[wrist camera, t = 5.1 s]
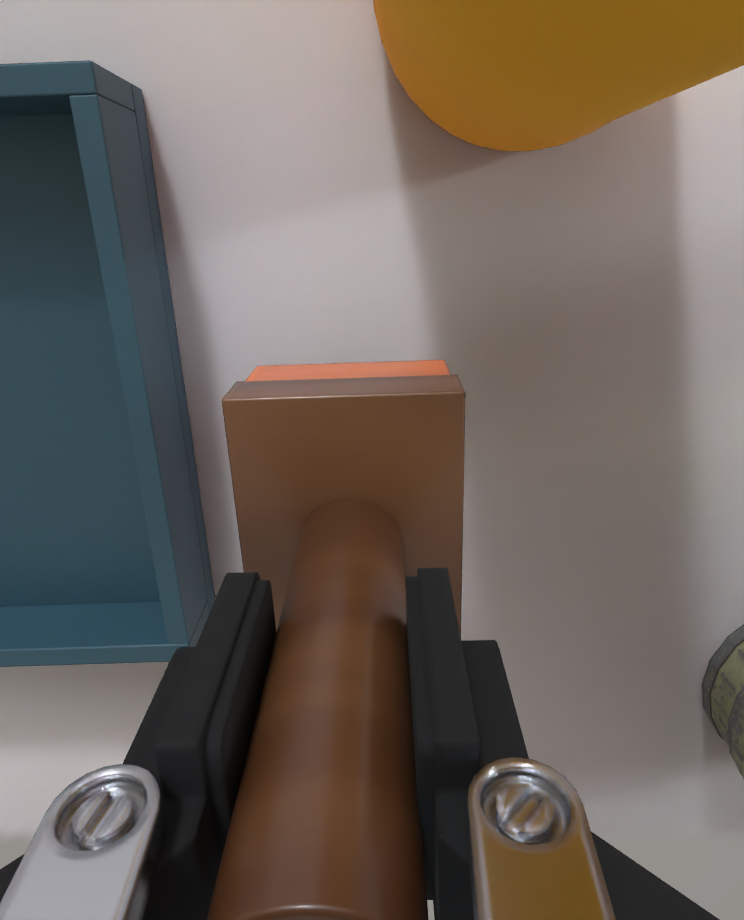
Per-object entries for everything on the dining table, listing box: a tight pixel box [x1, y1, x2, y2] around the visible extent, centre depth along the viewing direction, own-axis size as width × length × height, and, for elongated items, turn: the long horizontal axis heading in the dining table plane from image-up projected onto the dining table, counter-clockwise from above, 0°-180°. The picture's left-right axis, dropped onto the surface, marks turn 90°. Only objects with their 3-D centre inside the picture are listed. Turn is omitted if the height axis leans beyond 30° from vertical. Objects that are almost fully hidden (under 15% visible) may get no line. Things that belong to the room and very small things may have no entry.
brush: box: [207, 360, 466, 920], centre depth 12 cm, size 7×5×12 cm
